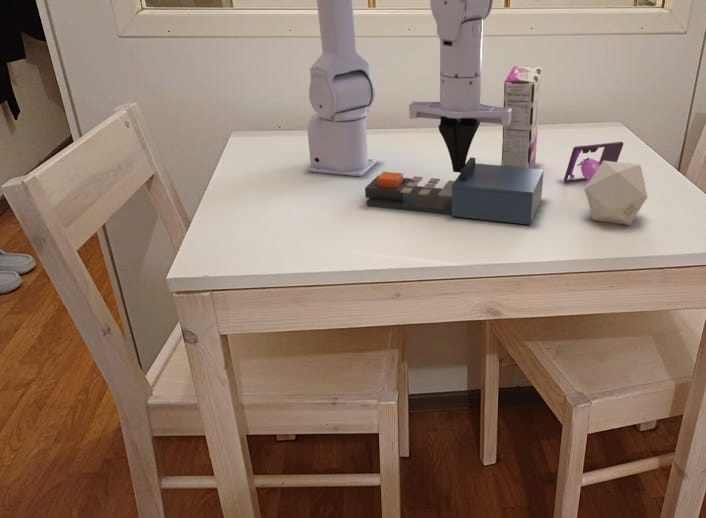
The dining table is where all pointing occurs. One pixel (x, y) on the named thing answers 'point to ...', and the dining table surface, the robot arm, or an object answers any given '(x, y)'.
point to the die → (616, 192)
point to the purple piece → (591, 165)
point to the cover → (497, 192)
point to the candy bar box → (521, 116)
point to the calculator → (407, 199)
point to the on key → (390, 180)
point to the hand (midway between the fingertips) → (458, 170)
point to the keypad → (429, 187)
